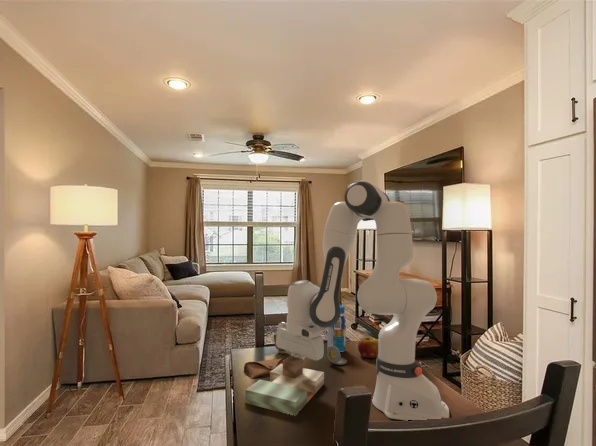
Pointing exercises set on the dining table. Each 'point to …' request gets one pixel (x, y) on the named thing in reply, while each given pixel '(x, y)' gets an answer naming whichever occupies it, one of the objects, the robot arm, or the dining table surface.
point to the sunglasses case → (261, 368)
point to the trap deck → (285, 390)
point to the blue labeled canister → (338, 332)
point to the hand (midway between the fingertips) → (298, 365)
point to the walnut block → (292, 367)
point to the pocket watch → (335, 355)
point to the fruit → (368, 347)
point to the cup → (280, 351)
